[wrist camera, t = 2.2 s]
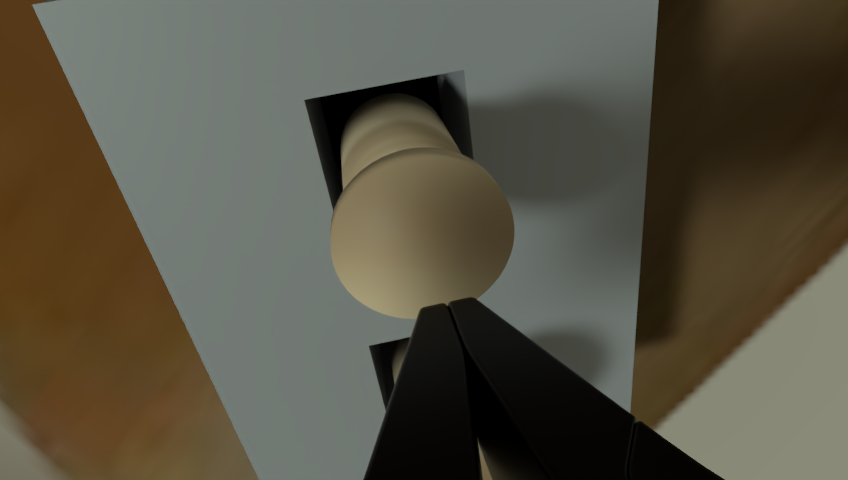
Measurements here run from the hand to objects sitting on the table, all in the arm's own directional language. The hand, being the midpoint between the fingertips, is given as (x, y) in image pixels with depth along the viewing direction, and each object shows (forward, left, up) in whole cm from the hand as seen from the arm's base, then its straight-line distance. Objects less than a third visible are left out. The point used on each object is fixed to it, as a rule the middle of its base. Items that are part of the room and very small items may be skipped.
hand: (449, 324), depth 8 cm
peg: (0, 0, -8) cm, 8 cm away
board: (-4, 0, -12) cm, 13 cm away
